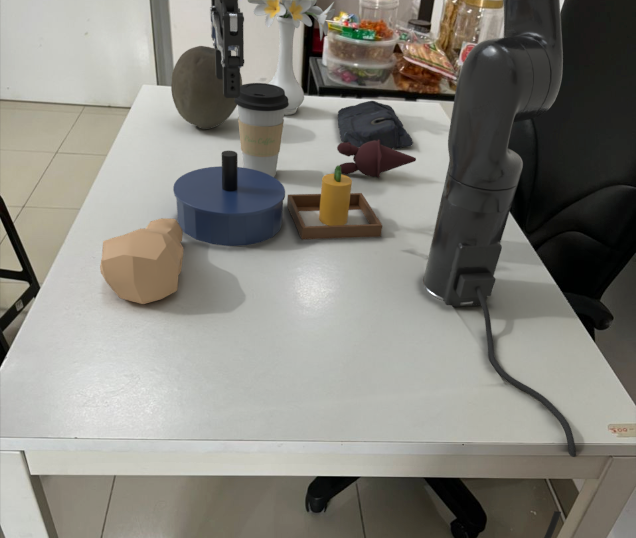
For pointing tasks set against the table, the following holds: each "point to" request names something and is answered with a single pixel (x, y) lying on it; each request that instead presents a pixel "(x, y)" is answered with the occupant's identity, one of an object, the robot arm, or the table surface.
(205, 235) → the pot
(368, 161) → the icecream
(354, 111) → the dark slate chunk
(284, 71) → the flower vase
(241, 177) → the lid
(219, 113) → the cantaloupe
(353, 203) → the tray
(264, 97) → the coffee cup
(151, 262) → the squash
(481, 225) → the robot arm
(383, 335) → the table surface
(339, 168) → the pineapple
